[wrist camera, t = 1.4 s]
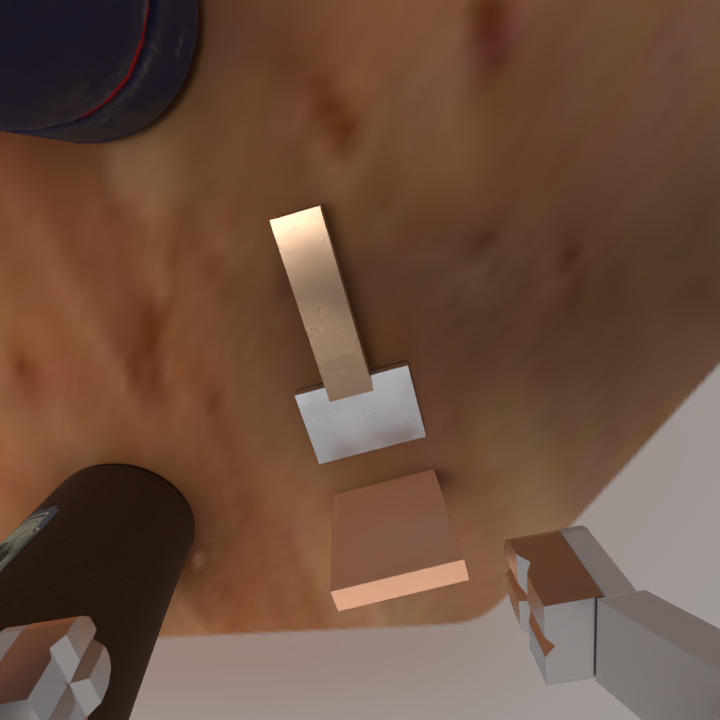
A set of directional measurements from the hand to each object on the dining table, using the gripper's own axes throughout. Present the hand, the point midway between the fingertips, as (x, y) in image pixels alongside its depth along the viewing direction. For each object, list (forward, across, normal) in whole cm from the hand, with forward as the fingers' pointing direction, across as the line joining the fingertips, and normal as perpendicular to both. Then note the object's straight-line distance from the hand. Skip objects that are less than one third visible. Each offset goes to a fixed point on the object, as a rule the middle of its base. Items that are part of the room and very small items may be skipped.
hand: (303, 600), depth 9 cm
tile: (+19, -2, +12) cm, 23 cm away
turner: (+19, -1, +1) cm, 19 cm away
